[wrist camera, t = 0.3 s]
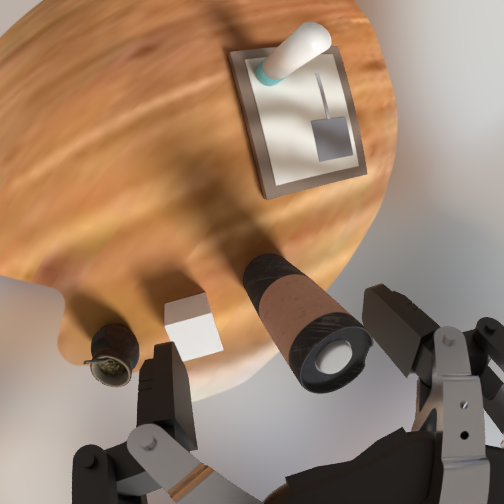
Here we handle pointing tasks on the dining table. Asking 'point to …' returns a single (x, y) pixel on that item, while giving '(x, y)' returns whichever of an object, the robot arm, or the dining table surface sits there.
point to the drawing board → (299, 123)
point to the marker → (293, 53)
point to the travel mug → (307, 325)
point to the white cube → (192, 327)
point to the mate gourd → (113, 355)
